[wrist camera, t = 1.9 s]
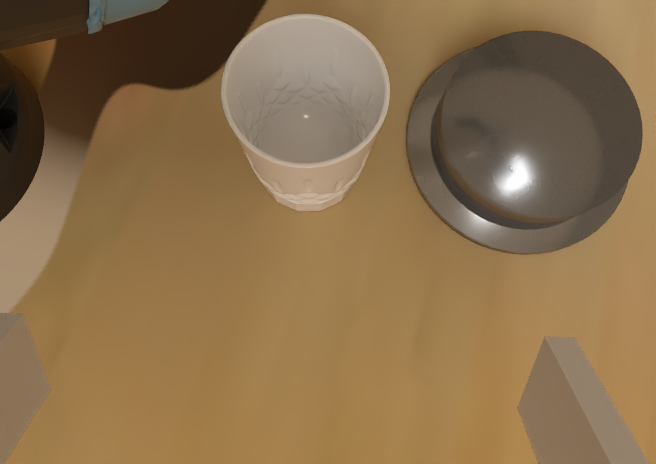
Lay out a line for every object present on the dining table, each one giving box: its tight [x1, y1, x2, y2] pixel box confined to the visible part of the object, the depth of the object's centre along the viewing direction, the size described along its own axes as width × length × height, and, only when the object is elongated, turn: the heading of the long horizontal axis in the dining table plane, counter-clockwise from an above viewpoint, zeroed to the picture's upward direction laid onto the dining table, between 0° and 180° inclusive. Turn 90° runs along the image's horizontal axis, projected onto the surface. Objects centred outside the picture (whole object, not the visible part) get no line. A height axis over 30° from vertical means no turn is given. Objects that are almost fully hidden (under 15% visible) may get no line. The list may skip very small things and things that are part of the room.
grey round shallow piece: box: [406, 31, 643, 254], centre depth 31 cm, size 15×15×4 cm
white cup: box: [221, 14, 390, 211], centre depth 27 cm, size 8×8×10 cm
